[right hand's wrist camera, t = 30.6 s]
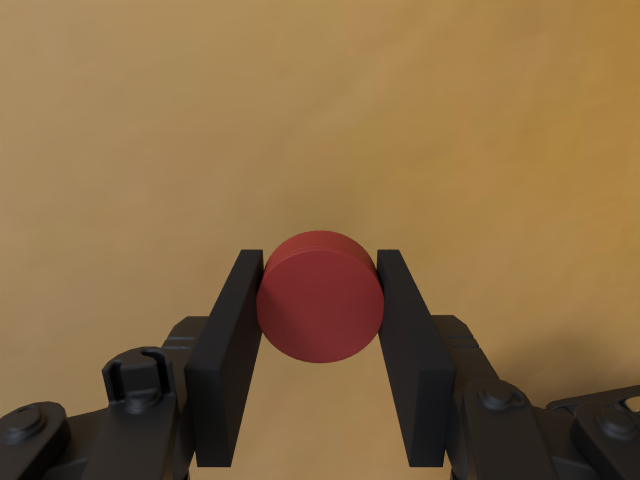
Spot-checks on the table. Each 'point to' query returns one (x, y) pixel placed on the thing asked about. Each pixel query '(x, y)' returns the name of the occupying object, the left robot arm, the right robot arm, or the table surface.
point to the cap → (320, 298)
